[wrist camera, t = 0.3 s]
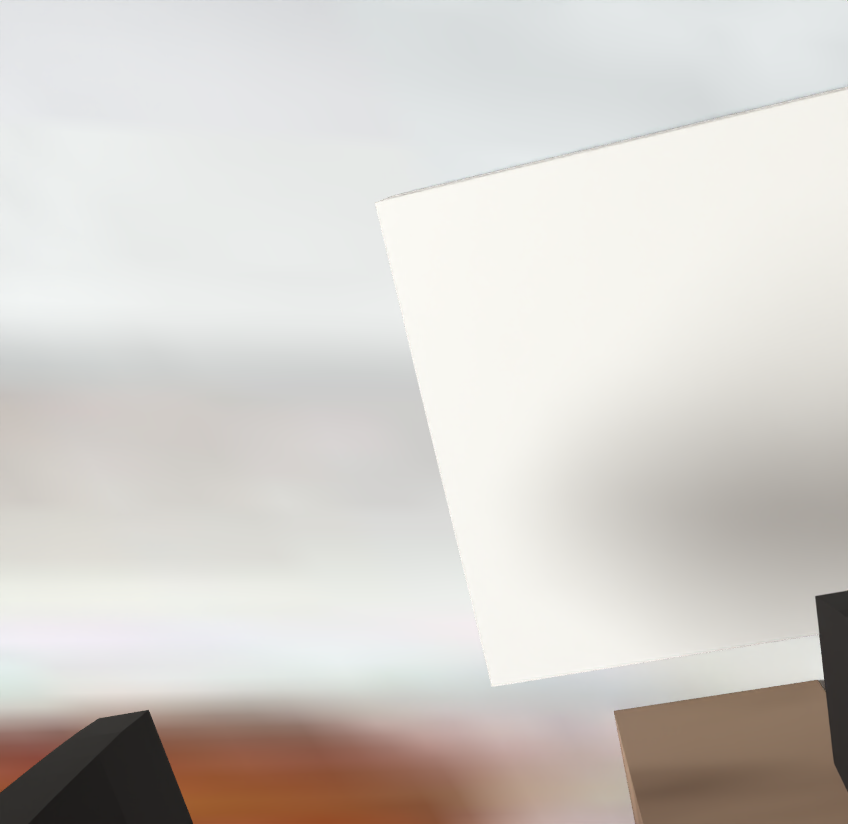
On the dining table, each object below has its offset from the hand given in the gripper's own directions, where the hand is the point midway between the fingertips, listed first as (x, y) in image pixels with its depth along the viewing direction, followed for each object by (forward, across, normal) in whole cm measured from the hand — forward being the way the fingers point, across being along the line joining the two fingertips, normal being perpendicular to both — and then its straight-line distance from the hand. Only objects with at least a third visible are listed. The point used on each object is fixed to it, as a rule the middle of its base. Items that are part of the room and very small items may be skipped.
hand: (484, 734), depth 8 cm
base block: (+10, -4, 0) cm, 11 cm away
